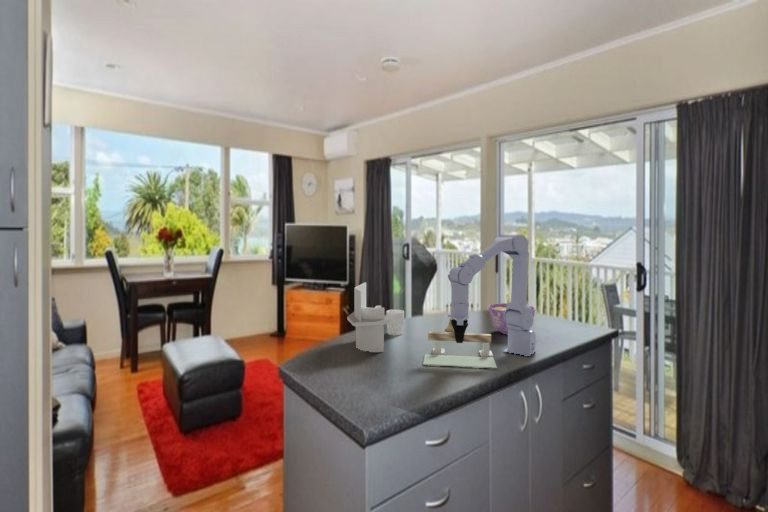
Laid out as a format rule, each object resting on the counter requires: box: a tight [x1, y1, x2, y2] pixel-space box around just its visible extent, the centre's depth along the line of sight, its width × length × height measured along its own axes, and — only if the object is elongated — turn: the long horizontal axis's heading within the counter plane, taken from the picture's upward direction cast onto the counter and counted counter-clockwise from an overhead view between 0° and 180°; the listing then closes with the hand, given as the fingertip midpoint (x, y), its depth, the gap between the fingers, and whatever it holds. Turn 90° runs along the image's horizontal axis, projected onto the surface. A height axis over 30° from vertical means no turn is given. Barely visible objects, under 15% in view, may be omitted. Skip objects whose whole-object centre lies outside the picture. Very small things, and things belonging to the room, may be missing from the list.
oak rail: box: [427, 331, 492, 344], centre depth 142 cm, size 21×2×2 cm, turn 81°
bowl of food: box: [487, 302, 537, 336], centre depth 183 cm, size 20×20×12 cm
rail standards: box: [431, 340, 494, 358], centre depth 153 cm, size 21×6×6 cm, turn 81°
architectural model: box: [346, 281, 392, 353], centre depth 163 cm, size 28×21×23 cm
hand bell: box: [444, 317, 455, 333], centre depth 188 cm, size 8×8×16 cm
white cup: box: [385, 309, 405, 337], centre depth 182 cm, size 8×8×10 cm
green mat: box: [422, 353, 498, 369], centre depth 143 cm, size 24×11×1 cm, turn 81°
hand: (459, 341), depth 142 cm, fingers closed on oak rail, 2 cm apart
